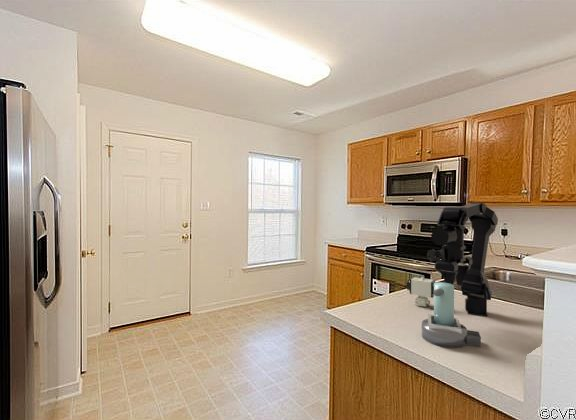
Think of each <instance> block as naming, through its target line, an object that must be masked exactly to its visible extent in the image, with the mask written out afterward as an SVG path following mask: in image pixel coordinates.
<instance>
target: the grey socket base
mask: <svg viewBox="0 0 576 420" xmlns="http://www.w3.org/2000/svg"><path fill="white" fill-rule="evenodd" d="M421 337H422V339H423V340H424V341H426V342H427V343H430V344H432V345H434V346H438V347H442V348H447V349H448V348H449V349H459V348H461V349H462V348H465V347H466V346H472V347H479V348H481V346H482V345H481V343H482V342H481V341H482V338H481V337H482V336H481V334H480V331H476V330H470V329H467V327H466V326H465V325H464V324H461V323H460V319H459V318H458V317H454V327H452V326H445V325H438V324H434V314H427V318H426V319H423V320H422V321H421Z"/></svg>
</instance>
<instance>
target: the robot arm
mask: <svg viewBox="0 0 576 420" xmlns="http://www.w3.org/2000/svg"><path fill="white" fill-rule="evenodd" d="M438 218H439V219H438V221H437V223H436V228H434V230H433V231H432V233H431V235H430V236H431V241H432V242H433V243H434V244H435V245H437V246H441V249H440V250H436V249H434V248H432V249H428V250H427V253H426V258H427V259H429V261H430V262H434V261H436V262H434V270H436V271H437V272H439V273H440V275H442V279H443V280H444V283H450V284H453V285H455V284H454V283H455V282H456V285H457V286H460V289H461V294H462V296H466V298H464V309H465V311H466V312H467V314H468V315H474V316H482V317H484V316H485V317H488V316H489V314H488V303H487V302H488V301H491V300H492V296H493V295H492V293H493V292H492V290H491V289H490V286H489V285H488V284H489V283H488V279H487V276H486V274H485V267H486V261H487V260H486V259H487V254H488V245H489V239H490V236H491V235H493V233H494V232H496V228H497V225H498V223H499V219H498V216H497V214H496V212H495V211H494V210H492V209H491V208H489V207H487V204H486V203H485V202H470V203H468V204H466V205H462V206H445V207H444V208H443V209H442V211H441V212H440V215H439V217H438ZM468 221H470V223H471V224H470V225H471V228H472V231H473V233H474V239H473V244H472V251H471V256H470V255H469V256H468V255H464V254H465V251H464V250H466V249H467V246H466V245H465V238H464V235H465V232H464V231H465V230H466V226H465V225H466V223H467V222H468Z"/></svg>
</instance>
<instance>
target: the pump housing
mask: <svg viewBox="0 0 576 420" xmlns="http://www.w3.org/2000/svg"><path fill="white" fill-rule="evenodd" d="M433 293H434V297H433V315H434V324H438V325H445V326H452V327H454V318H455V284H450V283H445V282H438V281H437V282H435V283H434V291H433Z"/></svg>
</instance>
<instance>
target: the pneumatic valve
mask: <svg viewBox="0 0 576 420" xmlns="http://www.w3.org/2000/svg"><path fill="white" fill-rule="evenodd" d="M434 283H436V279H430V278H425V277H424V276H421V277H416V276H412V277H411V278H409V279H407V281H406V290H407V291H409V295H415V296H417V297H416V298H415V299H414V303H415V305H416V306H417V307H421V308H427V307H428V306H430V305H431V300H430V299H429V298H432V299H434V293H433V291H434Z"/></svg>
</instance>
